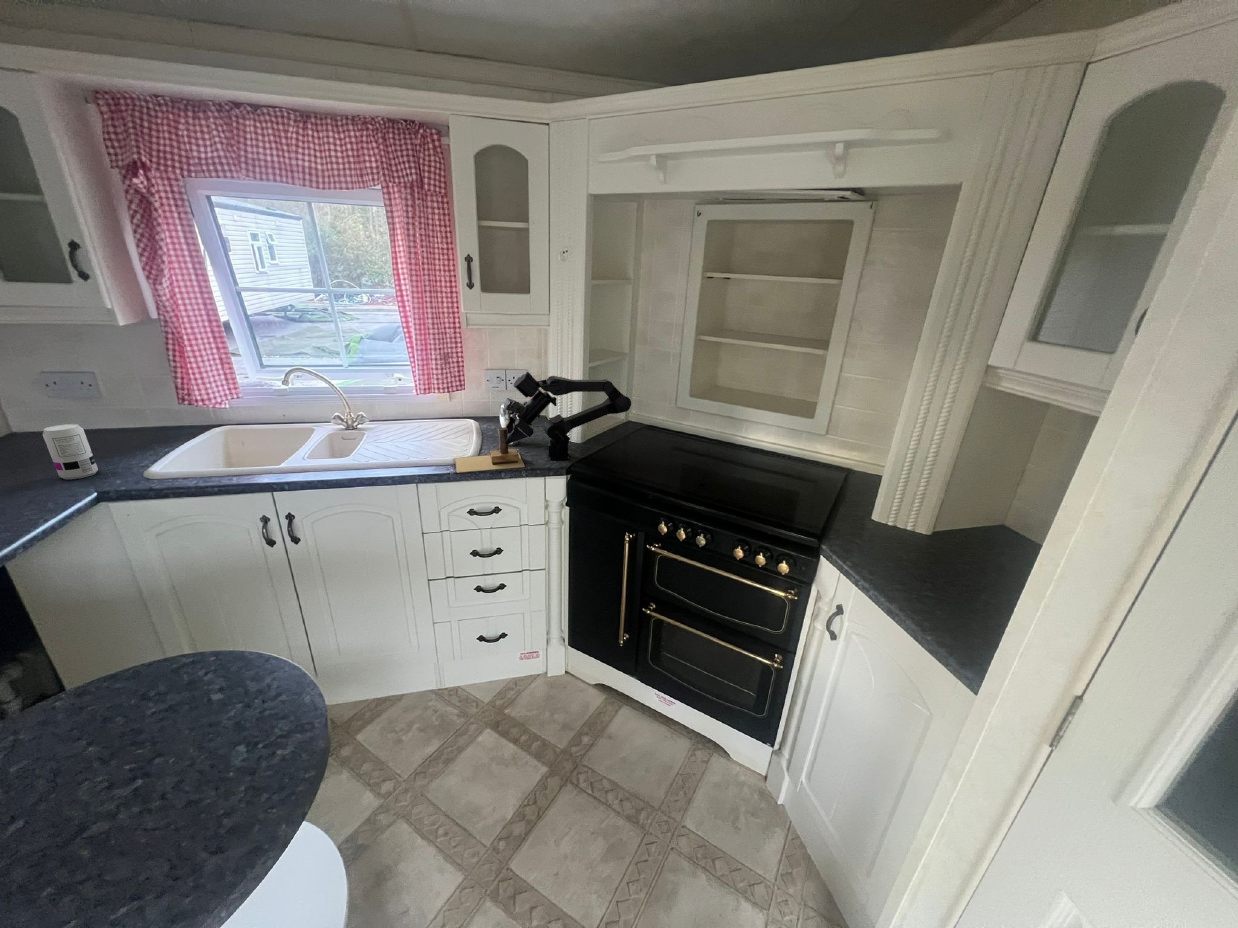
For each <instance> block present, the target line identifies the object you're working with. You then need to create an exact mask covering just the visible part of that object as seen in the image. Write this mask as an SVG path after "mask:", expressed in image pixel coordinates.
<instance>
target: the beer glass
mask: <svg viewBox="0 0 1238 928" xmlns="http://www.w3.org/2000/svg"><path fill="white" fill-rule="evenodd" d="M504 404H505V402H504V403H500V404H498V405H499V406H498V407H499V408H498V409H499V410H498V413H499V423H500V428H501V427H506V425H507V423H508V421H509V415H508V414H510V413H509V411H508V410H506V409H505V407H504ZM510 415H511V414H510ZM510 434H511V433H509V434H508V437H509V435H510ZM518 444H519V440H517V441H515V442H512V443H510V444H508V447H510V446H511V447H512V446H516V445H518Z"/></svg>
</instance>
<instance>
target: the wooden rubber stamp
mask: <svg viewBox="0 0 1238 928" xmlns="http://www.w3.org/2000/svg"><path fill="white" fill-rule="evenodd" d="M497 432H498V448H499V449H496V450H489V455H490V458H491V461H492V465H499V464H511V463H518V460H519V454H520V453H519V452H518V450H517V448H509V446H508V445H507V444H505V441H506V439H507V438H508V431H507V428H505V427H501V426H500V427H499V428H498V429H497ZM518 453H519V454H518Z"/></svg>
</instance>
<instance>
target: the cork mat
mask: <svg viewBox="0 0 1238 928" xmlns="http://www.w3.org/2000/svg"><path fill="white" fill-rule="evenodd" d="M518 454H519V460H518V463H511V464H499V465H492V461H491V458H490V454H488V455H476V456H463V457H461V456H460V457H455V459H454V460H455V468H456V473H457V474H463V473H473V472H474V473H475V472H485V471H496V470H497V471H498V470H508V469H520V468H521V469H522V468H526V465H525V464H524V461H523V459H522V457H521V455H520V453H519V452H518Z"/></svg>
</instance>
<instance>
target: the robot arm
mask: <svg viewBox="0 0 1238 928" xmlns="http://www.w3.org/2000/svg"><path fill="white" fill-rule="evenodd" d="M513 387H514V388H515V389H516V390H517V391H518V392H519V393H520V394H521V395H523V396H524V397H525V398H530V399H529V400H528V401H524V402H523V403H522V402H519V401H517V400H514V399H512V398H509V397H507V398H506V400H505V402H504V403H505V404H504V403H503V404H504V407H505V409H506V410H508V411H509V413H510V414H511V415H510V414H508V415H509V421H508V423H507V425H506V427H505V428H507V431H508V434H509V433H511V434H510V435H509V437H508V438H507V439H506V441H505V444H507V445H508V444H510V443H512V442H515V441H517V440H518V441H520V440H523V439H526V438H531V437H532V435H534V432H535V431H534V428H533V426H532V425H533V422H534V421H535V420H536V419H537V418H538V419H539V418H541V414H542V413H543V412H544V410H546V408H548V406H549V405H551V404H552V405H553V406H554V407H557V400H558V399H557V397H559V396H564V395H569V394H572V393H604V394H605V395H606V396H607V398H606V399H605V400H604V401H603V402H601V403H599V404H596V405H593V406H591V407H589V408H587V409H584V410H581V411H578V412H576V413H573V414H571V415H569V416H566V417H565V416H564V417H563V416H562V415H561V414H560V413H558V414H556V415H555V416H553V417H548V419H547V420H546V421H545V422H544V424H543V431H544V433H545V434H546V435H547V437H548V438H549V443H548V458H549V461H569V459H570V458H569V444H570V440H571V438H570V437H569V435H568V434H569V433H570V432H572V430H573V429H575V428H578V427H581V426H583V425H586V424H588V423H591V422H593V421H595V420H597V419H600V418H602V417H605V416H607V415H617V414H622V413H623V414H624V413H627V412H628V411H629V410H630V409H631V407H632V400H631V398H630V397H628V396H627V395H625V394H624V393H622V392H621V391H620V390H619V389H618V388H617V387H616V386H615V385H614V384H613V382H612V381H610V380H608V378H607V379H606V378H603V379H572V378H566V377H562V376H558V375H549V376H548V377H547V379H542V380H537V379H535V377H533V375H532V374H531V373H530V372H529V371H526V372H525V373H523V374H522V375H521V376H518V377H517V379H516V380H515V381H514V382H513ZM542 390H543V391H544V392H543V391H542ZM556 396H557V397H556Z"/></svg>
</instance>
